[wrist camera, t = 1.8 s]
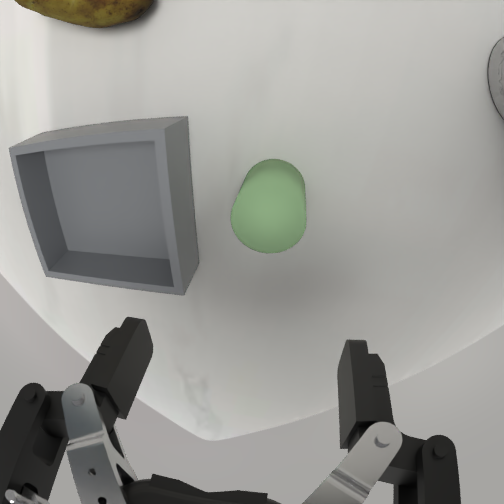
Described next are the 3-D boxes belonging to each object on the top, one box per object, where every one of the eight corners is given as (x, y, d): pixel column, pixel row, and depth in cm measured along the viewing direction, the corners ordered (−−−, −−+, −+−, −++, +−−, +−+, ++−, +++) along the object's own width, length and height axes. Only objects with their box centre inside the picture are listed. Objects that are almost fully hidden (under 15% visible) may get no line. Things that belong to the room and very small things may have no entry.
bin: (187, 116, 24) (164, 128, 20) (199, 262, 31) (184, 295, 27) (42, 132, 26) (8, 148, 21) (69, 251, 33) (45, 276, 29)
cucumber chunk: (306, 161, 25) (309, 188, 20) (302, 217, 27) (302, 255, 22) (244, 157, 25) (229, 183, 20) (244, 213, 28) (231, 250, 23)
